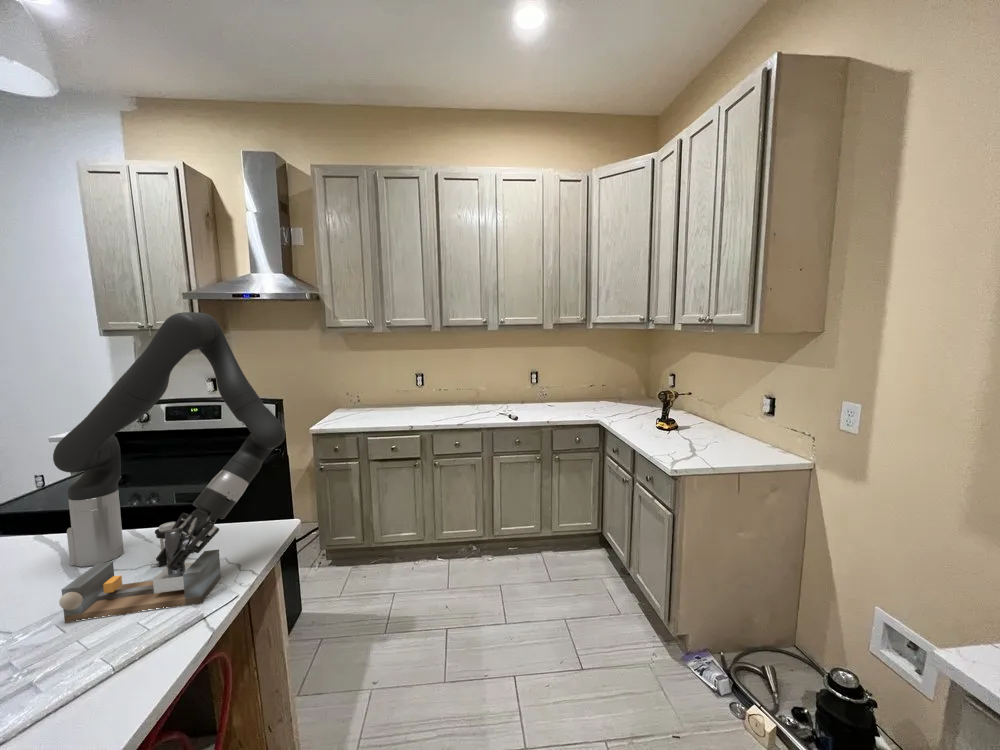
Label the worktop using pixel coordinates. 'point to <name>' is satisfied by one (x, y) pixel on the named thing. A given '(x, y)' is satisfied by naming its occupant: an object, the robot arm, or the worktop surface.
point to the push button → (161, 534)
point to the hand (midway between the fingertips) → (165, 565)
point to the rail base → (136, 591)
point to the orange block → (112, 584)
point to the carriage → (168, 577)
